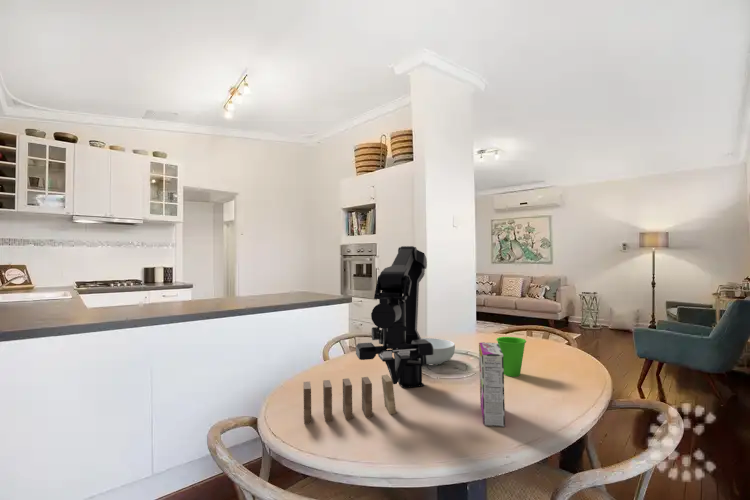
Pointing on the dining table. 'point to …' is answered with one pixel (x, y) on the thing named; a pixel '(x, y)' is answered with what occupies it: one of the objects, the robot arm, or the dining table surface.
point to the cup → (512, 354)
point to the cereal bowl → (440, 350)
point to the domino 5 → (388, 394)
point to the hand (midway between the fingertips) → (394, 383)
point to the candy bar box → (492, 384)
